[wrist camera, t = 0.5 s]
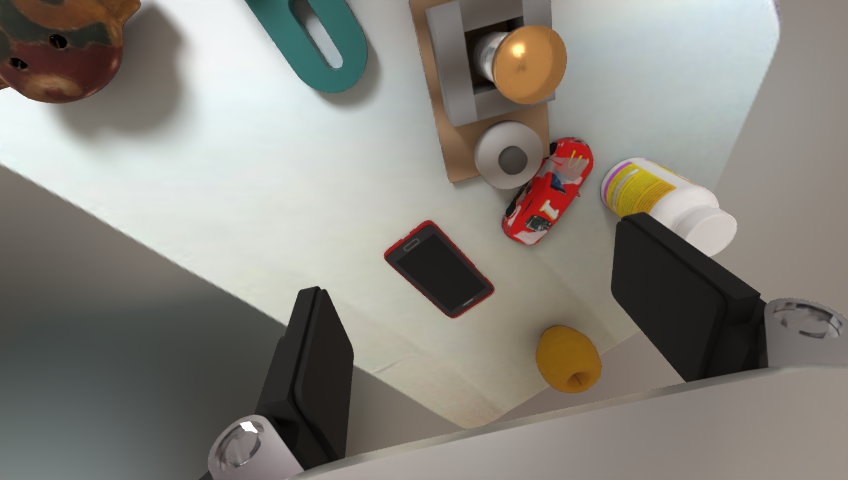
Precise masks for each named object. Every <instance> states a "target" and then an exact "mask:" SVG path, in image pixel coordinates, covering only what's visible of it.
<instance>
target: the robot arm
mask: <svg viewBox="0 0 848 480" xmlns="http://www.w3.org/2000/svg"><path fill="white" fill-rule="evenodd" d="M611 292H612V295H613V297H614V298H615V300H616V301H617V302H618V303H619V304H620V306H621V307H622V308H623V309H624V310H625V311H626V313H627V314H628V315H629V316H630V317H631V318H632V320H633V321H634V322H635V323H636V324H637V326H638V327H639V328H640V329H641V330H642V331H643V332H644V334H645V335H646V336H647V337H648V338H649V340H650V341H651V342H652V343H653V344H654V345H655V347H656V348H657V349H658V350H659V351H660V353H662V355H663V356H664V357H665V358H666V360H667V361H668V362H669V363H670V364H671V365H672V367H673V368H674V369H675V370H676V371H677V373H678V374H679V375H680V376H681V377H682V378H683V380H684V381H685V382H686V383H682V384H677V385H673V386H668V387H663V388H658V389H653V390H649V391H644V392H640V393H635V394H630V395H625V396H621V397H616V398H611V399H606V400H601V401H597V402H592V403H587V404H583V405H578V406H574V407H569V408H565V409H560V410H556V411H550V412H546V413H541V414H537V415H532V416H528V417H523V418H519V419H515V420H509V421H505V422H500V423H496V424H491V425H486V426H482V427H477V428H473V429H468V430H464V431H459V432H455V433H451V434H446V435H442V436H437V437H433V438H428V439H424V440H419V441H415V442H410V443H406V444H401V445H397V446H393V447H389V448H385V449H381V450H376V451H372V452H368V453H364V454H360V455H356V456H352V457H347V458H345V451H346V439H347V427H348V416H349V405H350V394H351V382H352V371H353V360H354V353H353V348H352V345H351V343H350V340H349V338H348V336H347V334H346V332H345V329H344V327H343V325H342V323H341V321H340V318H339V316H338V314H337V312H336V310H335V307H334V305H333V303H332V301H331V299H330V296H329V294H328V292H327V290H326V289H323V290H321V289H320V287H318V286H315V287H311V288H307V289H302V290H300V291H299V293H298V295H297V299H296V302H295V305H294V308H293V311H292V314H291V318H290V321H289V324H288V327H287V330H286V333H285V336H282V337H281V338H280V340H279V342H278V344H277V347H276V350H275V353H274V356H273V359H272V362H271V365H270V368H269V371H268V374H267V378H266V380H265V383H264V386H263V389H262V392H261V395H260V398H259V401H258V405H257V408H256V411H255V413H254V415H251V416H247V417H244V418H242V419H239V420H238V421H236V422H235V423H233V424H232V425H230V426H229V427H228V428H227V429H226V430H225V431H224V432H223V433H222V434H221V435H220V436H219V437H218V439H217V440H216V441H215V443H214V445H213V447H212V449H211V451H210V453H209V459H208V466H209V471H208V472H207V473H206V474H205V475H204V476H203V477H202V478H200V479H199V480H848V319H846V318H845V317H844V316H843V315H842V314H840V313H838V312H837V311H835V310H833V309H831V308H830V307H827V306H824V305H822V304H819V303H817V302H813V301H809V300H804V299H798V298H779V299H775V300H772V301H770V302H769V303H768V304H767V303H766V302H764V301H763V300H762V299H760V298H759V297H760V295H761V294H760V293H759V292H757V291H756V290H755V289H753V288H752V287H750V286H749V285H748V284H746V283H745V282H743V281H742V280H741V279H739V278H738V277H736V276H735V275H734V274H732V273H731V272H729V271H728V270H726V269H725V268H724V267H722V266H721V265H719V264H718V263H717V262H715V261H714V260H712V259H711V258H710V257H708V256H707V255H705V254H704V253H703V252H701V251H700V250H698V249H697V248H695V247H694V246H693V245H691V244H690V243H688V242H687V241H686V240H684V239H683V238H681V237H680V236H679V235H677V234H676V233H674V232H673V231H671V230H670V229H669V228H667V227H666V226H664V225H663V224H662V223H660V222H659V221H657V220H656V219H655V218H653V217H652V216H650V215H649V214H647V213H646V212H639V213H635V214H630V215H626V216H624V217H622V219H621V221H620V222H618V223H617V226H616V237H615V248H614V259H613V270H612V281H611Z"/></svg>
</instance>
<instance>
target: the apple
mask: <svg viewBox="0 0 848 480" xmlns="http://www.w3.org/2000/svg"><path fill="white" fill-rule="evenodd" d="M536 362H537V366H538V369H539V371H540V372H541V374H542V376H543V377H544V379H545V380H546V381H547V382H548V383H549V384H550V385H551V386H552V387H553V388H554V389H557V390H559V391H561V392H567V393H578V392H582V391H585V390H587V389H588V388H590V387H591V386H592V385H593V384H595V383H596V381H597V380H598V379H599V377H600V374H601V367H602V366H601V361H600V358H599V355H598V352H597V350H596V348H595V346H594V345H593V344H592V342H591V341H590V340H589V338H587V337H586V336H585V335H583V334H582V333H580V332H578V331H576V330H574V329H572V328H568V327H565V326H559V325H558V326H554V327H551V328H549V329H548V330H546V331H545V332H544V334H543V335H542V336H541V339H540V342H539V345H538V348H537V351H536Z"/></svg>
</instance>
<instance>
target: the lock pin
mask: <svg viewBox="0 0 848 480" xmlns="http://www.w3.org/2000/svg"><path fill="white" fill-rule="evenodd" d="M466 50H467V56H468V63H469V68H470V69H471V70H472V71H473V72H475V73H476V74H478V75H480V76H482V77H484V78H486V79H488V80H490V81H492V82H494V84H495V86H496V88H497V89H498V91H499V92H500V93H501V94H502V95H504V96H505V97H507V98H508V99H510V100H512V101H513V102H516V103H519V104H532V103H536V102H539V101H541V100H543V99H545V98H546V97H547V96H549V95H550V94H551V93H552V92H553V91H554V90H555V89H556V87H557V86H558V85H559V83H560V81H561V79H562V77H563V75H564V72H565V68H566V61H567V56H566V49H565V45H564V43H563V41H562V39H561V37H560V36H559V35H558V34H557V33H556V32H555V31H554V30H552V29H550V28H548V27H545V26H540V25H527V26H522V27H519V28H517V29H515V30H513V31H511V32H494V31H482V32H478V33H477V34H475V35H474V36H473V37H472V38H471V39H470V40H469V42H468V43H467V46H466Z"/></svg>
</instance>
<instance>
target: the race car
mask: <svg viewBox="0 0 848 480" xmlns="http://www.w3.org/2000/svg"><path fill="white" fill-rule="evenodd" d="M556 142H557V143H558V144H557V143H552V144H550V147H549V148H550V157H546V159H547V160H545V159H544V158H543V159H542V163H541V165H540V167H539V169H538V171H537V172H536V174H535V175H534V176H533V177H532V178H531V179H530V180H529V181H528V182H526V183H525V184H524V185H523V187H522V188H521V190H520V191H519V193H518V194H517V196H516V197H515V199H514V200H515V201H516V202H511V205H510V206H509V208H508V209H507V210H506V215H507V216H506V215H504V217H503V220H502V229H503V230H504V233H505V234H506V235H507V236H508V237H510V238H512V239H514V240H516V241H518V242H521V243H523V244H526V245H533V244H535V243H537V242H538V241H539V240H541V238H542V237H543V236H544V235H545V234H546V233H547V232H548V231H549V229H550V228H551V227H552V226H553V225H554V224H555V223H556V221H557V220H558V219H559V218H560V216H561V215H562V214H563V212H564V211H565V210H566V208H567V207H568V206H569V204H570V203H571V202H572V200H573V199H574V197H575V195H577V196H579V197H580V195H579V193H578V192H577V191H578V189H579V188H580V186H581V185H582V183H583V181H584V180H585V179H586V177H587V176H588V174H589V173H590V172H591V170H592V168H593V161H594V159H593V155H592V152H591V150H590V148H589V146H588V145H587V144H586V143H585V142H584V141H583V140H580V139H577V138H562V139H559V140H556ZM576 193H577V194H576Z"/></svg>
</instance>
